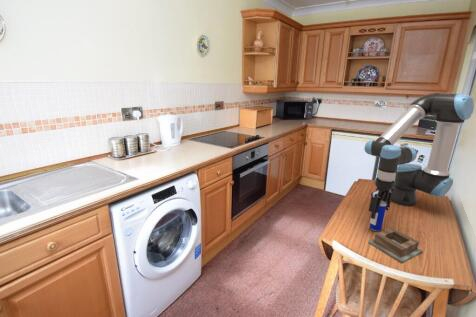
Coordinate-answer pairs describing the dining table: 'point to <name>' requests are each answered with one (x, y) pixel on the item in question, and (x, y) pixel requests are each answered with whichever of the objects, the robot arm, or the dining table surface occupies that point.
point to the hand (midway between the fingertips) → (376, 222)
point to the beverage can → (379, 217)
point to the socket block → (396, 244)
